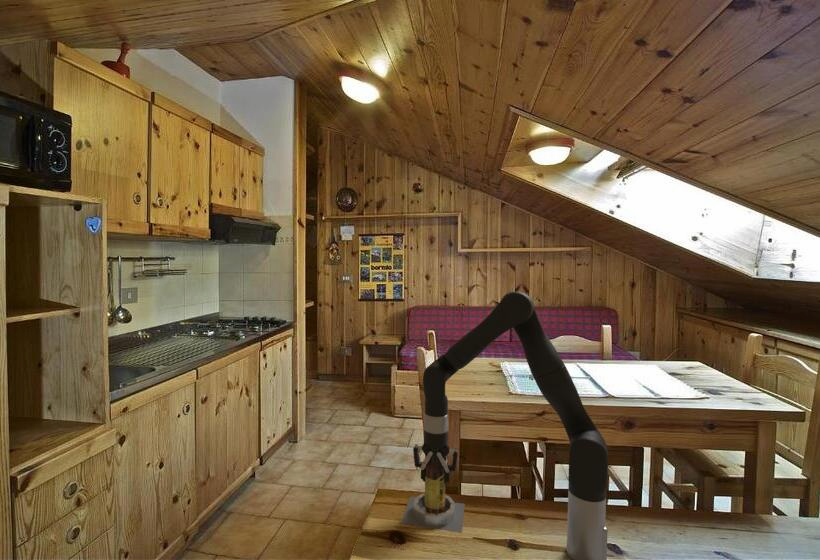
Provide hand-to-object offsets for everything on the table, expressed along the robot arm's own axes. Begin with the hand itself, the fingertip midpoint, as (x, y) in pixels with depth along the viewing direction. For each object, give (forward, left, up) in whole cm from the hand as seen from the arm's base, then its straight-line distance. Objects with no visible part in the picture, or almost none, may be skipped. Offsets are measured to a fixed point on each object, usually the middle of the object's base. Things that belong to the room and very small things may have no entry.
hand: (435, 481), depth 120 cm
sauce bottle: (0, 0, -9) cm, 9 cm away
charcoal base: (0, 0, -11) cm, 11 cm away
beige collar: (0, 0, -10) cm, 10 cm away
